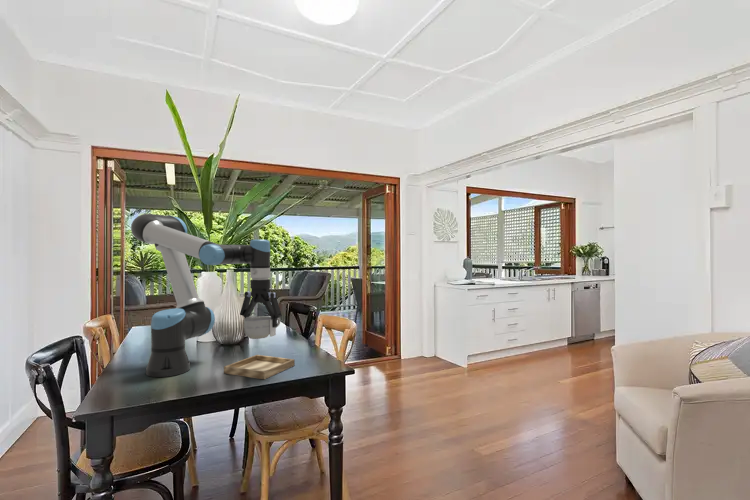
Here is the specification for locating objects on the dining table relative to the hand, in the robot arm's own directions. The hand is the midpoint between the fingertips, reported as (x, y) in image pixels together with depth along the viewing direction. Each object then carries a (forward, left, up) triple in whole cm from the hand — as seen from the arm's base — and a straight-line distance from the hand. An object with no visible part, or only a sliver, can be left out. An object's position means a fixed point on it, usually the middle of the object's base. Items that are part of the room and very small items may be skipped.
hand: (260, 334), depth 158 cm
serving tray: (0, 0, -14) cm, 14 cm away
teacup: (+1, 0, -1) cm, 2 cm away
